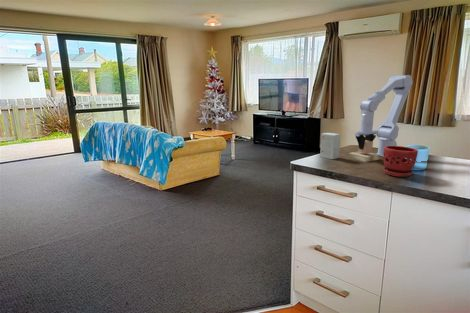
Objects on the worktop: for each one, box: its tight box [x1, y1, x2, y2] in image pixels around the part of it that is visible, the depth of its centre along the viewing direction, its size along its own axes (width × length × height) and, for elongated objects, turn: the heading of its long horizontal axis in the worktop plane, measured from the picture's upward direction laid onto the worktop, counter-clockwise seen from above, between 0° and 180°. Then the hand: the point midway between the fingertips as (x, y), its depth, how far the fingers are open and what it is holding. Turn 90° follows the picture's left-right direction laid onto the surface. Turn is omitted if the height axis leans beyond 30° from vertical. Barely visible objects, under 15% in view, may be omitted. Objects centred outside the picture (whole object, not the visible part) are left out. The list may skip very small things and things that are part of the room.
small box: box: [319, 132, 341, 160], centre depth 167 cm, size 8×6×13 cm
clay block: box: [357, 140, 374, 154], centre depth 164 cm, size 5×5×6 cm
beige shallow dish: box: [347, 151, 381, 163], centre depth 166 cm, size 11×11×3 cm
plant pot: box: [382, 145, 419, 178], centre depth 137 cm, size 13×13×12 cm
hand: (364, 148), depth 165 cm, fingers closed on clay block, 5 cm apart
